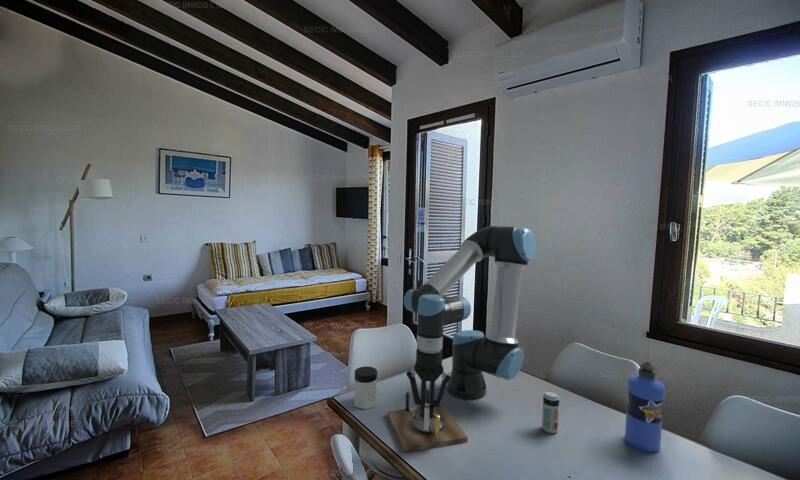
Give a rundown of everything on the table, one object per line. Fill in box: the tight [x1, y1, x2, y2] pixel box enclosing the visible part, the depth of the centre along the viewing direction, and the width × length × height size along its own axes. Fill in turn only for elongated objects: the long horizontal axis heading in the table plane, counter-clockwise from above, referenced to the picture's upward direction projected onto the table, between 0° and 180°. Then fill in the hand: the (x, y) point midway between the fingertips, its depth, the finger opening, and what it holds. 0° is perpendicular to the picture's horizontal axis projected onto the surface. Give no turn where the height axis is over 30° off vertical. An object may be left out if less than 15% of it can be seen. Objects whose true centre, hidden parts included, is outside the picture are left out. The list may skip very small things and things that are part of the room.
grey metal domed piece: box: [412, 405, 444, 438], centre depth 117 cm, size 19×10×8 cm, turn 12°
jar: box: [353, 366, 378, 410], centre depth 133 cm, size 9×8×12 cm
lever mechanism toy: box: [386, 389, 469, 454], centre depth 118 cm, size 20×20×8 cm
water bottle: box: [624, 361, 666, 454], centre depth 112 cm, size 9×9×25 cm
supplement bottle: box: [541, 390, 561, 434], centre depth 118 cm, size 5×5×12 cm
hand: (426, 427), depth 108 cm, fingers closed
